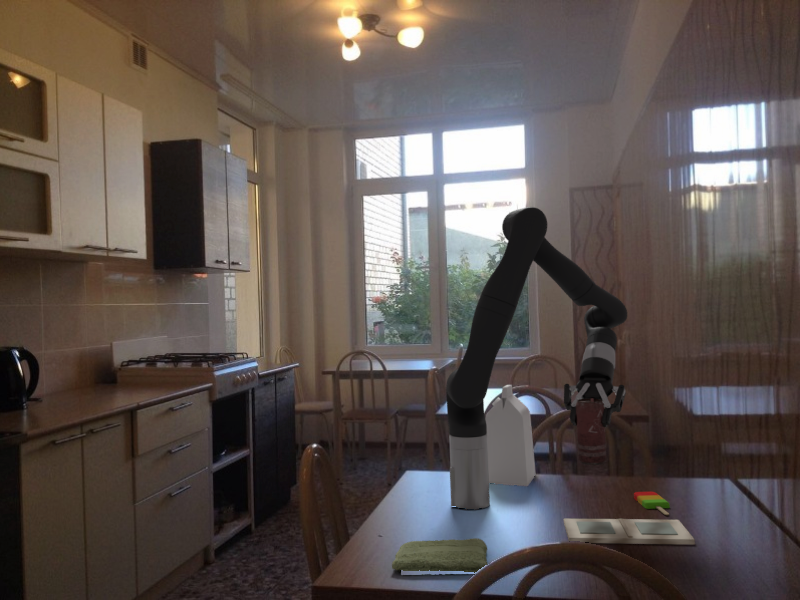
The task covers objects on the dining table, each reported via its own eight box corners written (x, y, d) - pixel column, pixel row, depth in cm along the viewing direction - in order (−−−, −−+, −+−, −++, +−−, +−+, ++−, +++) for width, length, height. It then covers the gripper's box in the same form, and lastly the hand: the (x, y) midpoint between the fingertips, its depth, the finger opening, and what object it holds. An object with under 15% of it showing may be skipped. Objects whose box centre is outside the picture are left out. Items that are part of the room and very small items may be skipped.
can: (607, 459, 149) (603, 397, 149) (606, 465, 143) (603, 401, 143) (579, 458, 151) (576, 397, 151) (577, 465, 145) (574, 401, 145)
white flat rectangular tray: (569, 542, 131) (568, 536, 131) (563, 523, 143) (563, 517, 143) (694, 544, 128) (694, 537, 128) (678, 524, 139) (678, 518, 140)
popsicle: (655, 498, 160) (654, 490, 160) (679, 518, 145) (679, 509, 145) (632, 499, 160) (632, 491, 160) (655, 518, 145) (654, 510, 145)
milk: (527, 486, 174) (523, 388, 174) (485, 483, 178) (481, 388, 178) (535, 475, 185) (531, 383, 185) (495, 472, 189) (492, 383, 190)
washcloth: (399, 552, 131) (398, 536, 131) (487, 552, 129) (486, 536, 129) (391, 578, 118) (390, 561, 118) (489, 579, 116) (488, 561, 116)
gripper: (564, 355, 157) (553, 413, 146) (627, 355, 150) (620, 415, 139) (571, 375, 161) (560, 432, 151) (631, 376, 155) (625, 435, 144)
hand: (589, 424), depth 145 cm, fingers closed on can, 6 cm apart
